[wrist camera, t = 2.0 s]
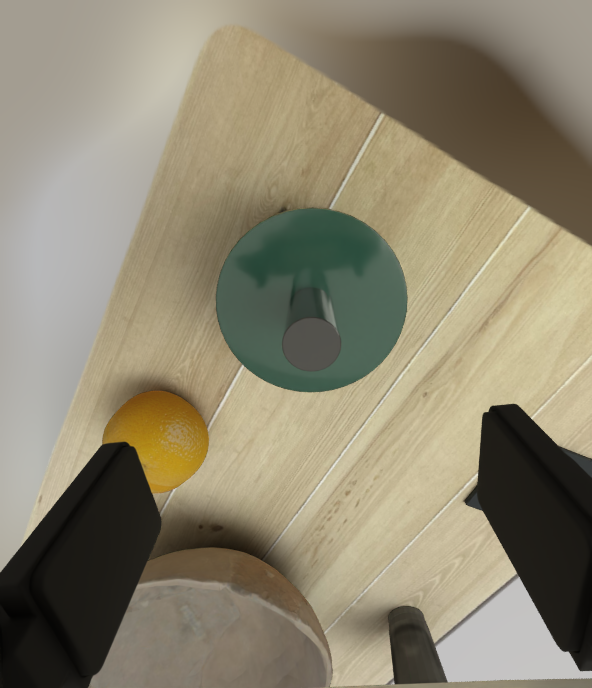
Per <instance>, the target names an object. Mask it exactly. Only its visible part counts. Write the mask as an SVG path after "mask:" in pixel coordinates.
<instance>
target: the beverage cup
mask: <svg viewBox="0 0 592 688" xmlns="http://www.w3.org/2000/svg"><path fill="white" fill-rule="evenodd" d="M388 620H389V635H390V645H391V654H392V664H393V673H394V683H395V684H420V683H446V682H447V679H446V676H445V674H444V671H443V668H442V665H441V662H440V659H439V656H438V654H437V651H436V648H435V645H434V642H433V639H432V637H431V634H430V631H429V628H428V626H427V624H426V621H425V619H424V616H423V613H422V612H421V611H420V610H419V609H417V608H414V607H400V608H397V609H395V610H393V611H392V612H391V613H390V614H389V616H388Z"/></svg>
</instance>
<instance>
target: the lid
mask: <svg viewBox="0 0 592 688" xmlns="http://www.w3.org/2000/svg"><path fill="white" fill-rule="evenodd" d="M216 311H217V317H218V322H219V325H220V329H221V332H222V334H223V336H224V339H225V341H226V343H227V344H228V346H229V348H230V349H231V351H232V352H233V354H234V355H235V356H236V358H237V359H238V360H239V361H240V362H241V363H242V364H243V365H244V366H245V367H246V368H247V369H248V370H249V371H251V372H252V373H253V374H255V375H256V376H258V377H259V378H261V379H263V380H264V381H266V382H268V383H271V384H273V385H275V386H278V387H281V388H284V389H288V390H293V391H299V392H323V391H329V390H334V389H338V388H341V387H344V386H347V385H349V384H352V383H354V382H356V381H358V380H359V379H361V378H363V377H365V376H366V375H367V374H369V373H370V372H372V371H373V370H374V369H375V368H376V367H377V366H378V365H380V364H381V363H382V362H383V360H384V359H385V358H386V357H387V356H388V355H389V353H390V352H391V350H392V349H393V347H394V346H395V344H396V342H397V340H398V338H399V336H400V334H401V331H402V328H403V325H404V322H405V317H406V312H407V287H406V282H405V277H404V273H403V271H402V268H401V265H400V263H399V261H398V259H397V257H396V255H395V254H394V252H393V250H392V249H391V247H390V246H389V245H388V244H387V242H386V241H385V240H384V239H383V238H382V237H381V236H380V235H379V234H378V233H377V232H376V231H375V230H374V229H372V228H371V227H370V226H368V225H367V224H365V223H364V222H362V221H360V220H358V219H357V218H355V217H353V216H351V215H348V214H345V213H342V212H340V211H336V210H331V209H326V208H313V207H312V208H298V209H294V210H289V211H285V212H282V213H279V214H276V215H274V216H271V217H270V218H268V219H266V220H264V221H262V222H260V223H259V224H258V225H256V226H255V227H253V228H252V229H251V230H249V231H248V232H247V233H246V234H245V235H244V236H243V237H242V238H241V239H240V240H239V241H238V242H237V244H236V245H235V246H234V247H233V249H232V250H231V252H230V253H229V255H228V257H227V259H226V260H225V262H224V265H223V267H222V270H221V272H220V276H219V280H218V284H217V291H216Z"/></svg>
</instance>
